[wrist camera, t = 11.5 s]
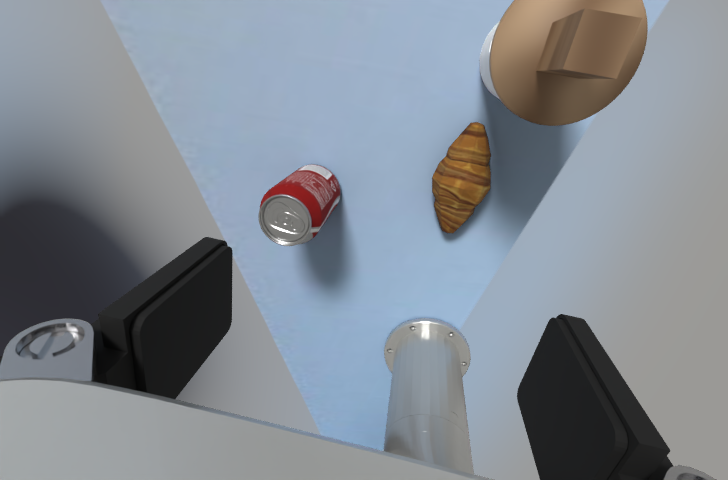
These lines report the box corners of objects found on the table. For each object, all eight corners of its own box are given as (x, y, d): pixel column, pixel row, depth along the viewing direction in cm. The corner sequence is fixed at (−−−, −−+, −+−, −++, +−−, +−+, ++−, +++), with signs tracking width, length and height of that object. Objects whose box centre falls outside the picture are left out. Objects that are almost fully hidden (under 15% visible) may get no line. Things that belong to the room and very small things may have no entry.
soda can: (304, 153, 46) (266, 176, 36) (351, 180, 47) (328, 210, 36) (283, 197, 49) (243, 231, 38) (327, 222, 50) (300, 262, 39)
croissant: (446, 115, 42) (448, 119, 38) (505, 126, 42) (514, 132, 37) (419, 223, 48) (419, 238, 44) (471, 233, 48) (476, 250, 43)
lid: (668, -19, 25) (748, -51, 19) (601, 135, 30) (649, 151, 23) (515, -44, 26) (543, -82, 20) (472, 110, 31) (484, 119, 24)
